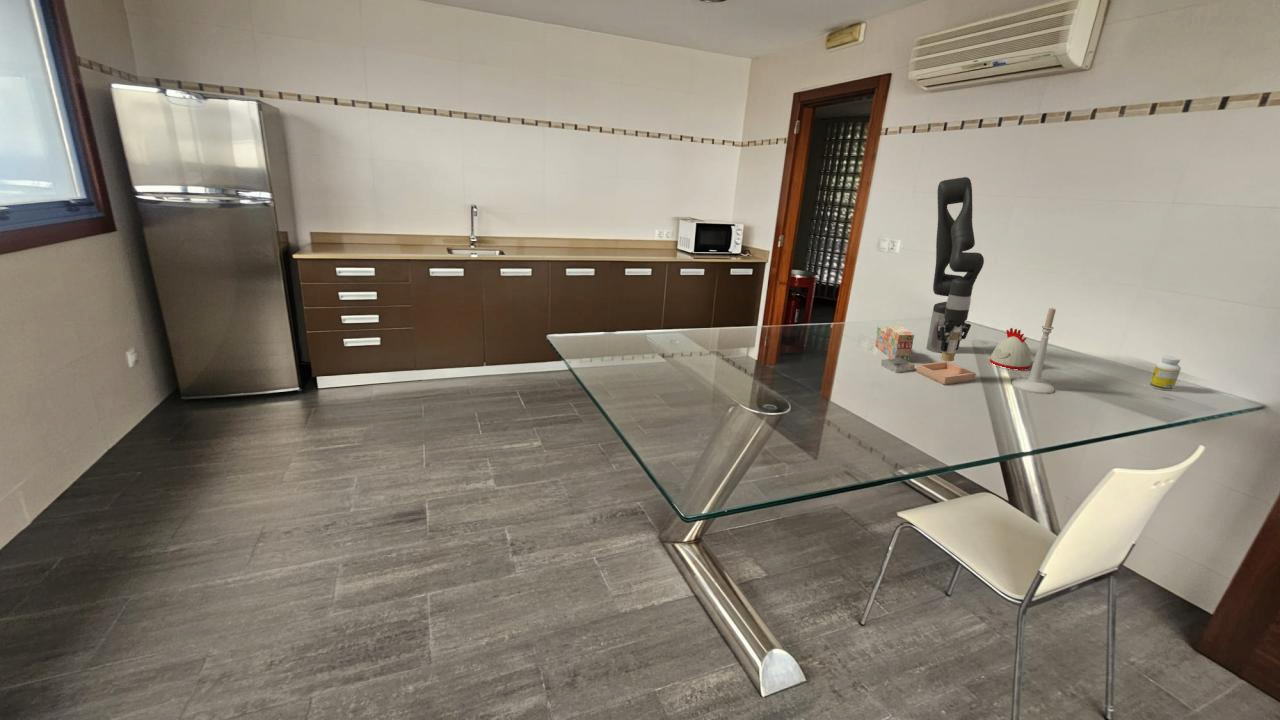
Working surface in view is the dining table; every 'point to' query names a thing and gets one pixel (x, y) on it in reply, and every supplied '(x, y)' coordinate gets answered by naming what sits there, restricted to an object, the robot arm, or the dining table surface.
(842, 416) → the dining table surface
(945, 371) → the tray
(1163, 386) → the pill bottle
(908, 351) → the colourful printed box
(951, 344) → the sprinkles bottle
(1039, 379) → the candlestick
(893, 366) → the grey flat square frame
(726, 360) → the dining table surface
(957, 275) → the robot arm
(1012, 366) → the kitchen timer
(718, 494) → the dining table surface
